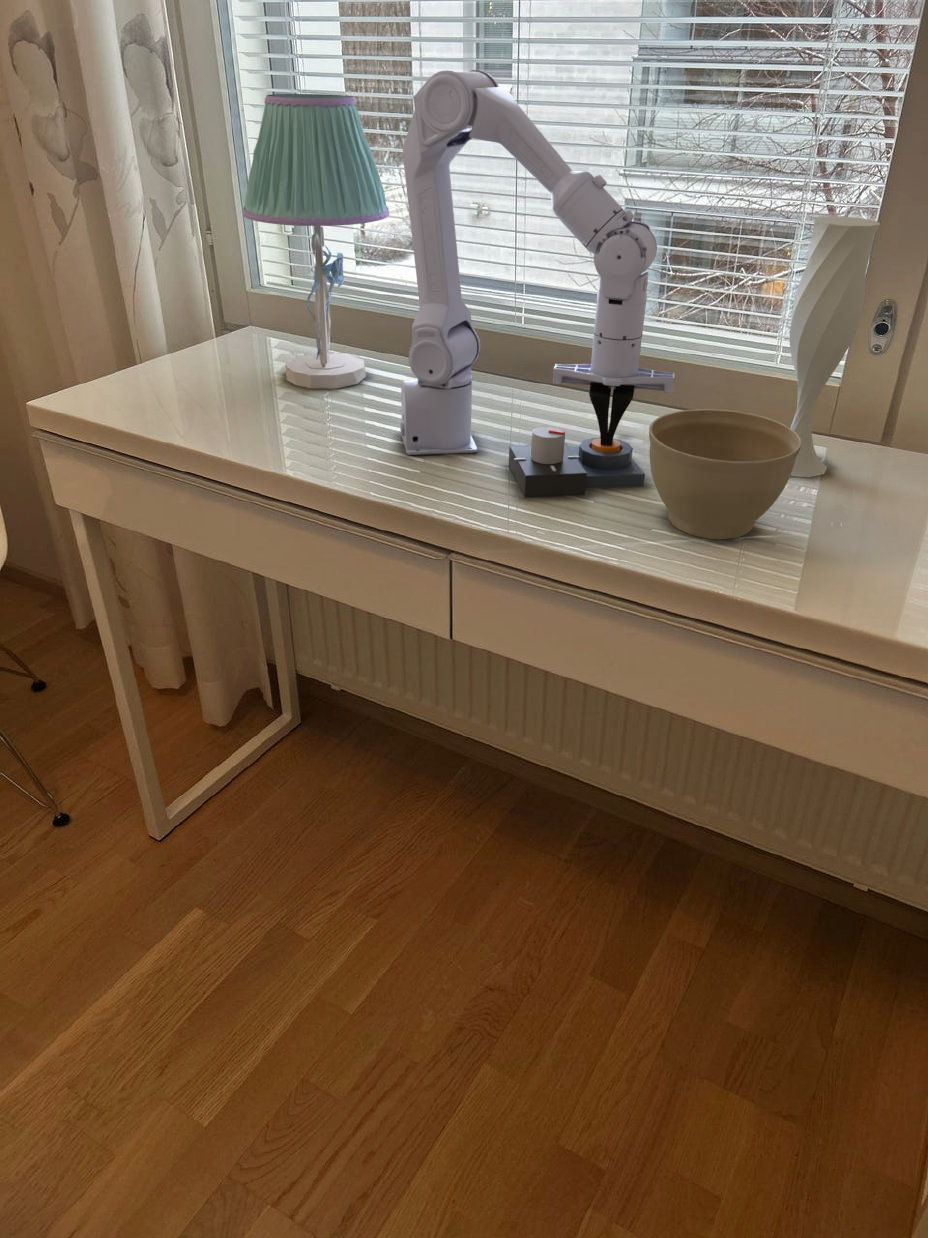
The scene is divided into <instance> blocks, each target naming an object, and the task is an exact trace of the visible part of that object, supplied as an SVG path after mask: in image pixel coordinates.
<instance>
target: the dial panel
mask: <svg viewBox="0 0 928 1238" xmlns="http://www.w3.org/2000/svg"><path fill="white" fill-rule="evenodd" d="M531 446H532V444H510V445H509V447H508V465H507V466H508V469H509V471H510V472H511V475H512V477H513V478H514V481H515V483H516V484H517V487H518V489H519V490H520V492H521V494H522V496H523V498H524V499H531V498H532V499H533V498H553V497H555V498H557V497H576V496H577V497H578V496H585V495H586V488H585V487H586V476H587V473H586V471H585V470H584V468H583V467H582V465H581V464H580V462H579V461H578V460H577V458H579V456H575V455H574V454H573V452H572V451H571V449H570V448H569V447H570V446H569V445H568V443H566V442H565V443H564V455H563V460H562V461H561V462H560V463H556V464H541V463H537V462H535V461H533V460H532V459H531Z"/></svg>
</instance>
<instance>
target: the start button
mask: <svg viewBox="0 0 928 1238" xmlns="http://www.w3.org/2000/svg"><path fill="white" fill-rule="evenodd" d="M597 438H598V439H595V440H593V441H592V448H591V449H593V450H595V451H597V452H603V453H615V452H619V451H620V446H621V443H620V442H619V441H617V440H615V439H616V438H613V441H612V446H605V445H601V438H600V437H597Z"/></svg>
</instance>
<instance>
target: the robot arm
mask: <svg viewBox="0 0 928 1238" xmlns="http://www.w3.org/2000/svg"><path fill="white" fill-rule="evenodd" d="M413 105H414V111H413V114H412V117H411V120H410V124H409V128H408V131H407V133H406V137H405V140H404V143H403V147H402V160H403V169H404V171H403V172H404V178H405V187H406V195H407V197H406V198H407V206H408V212H409V222H410V232H411V240H412V249H413V258H414V265H415V275H416V283H417V292H418V301H419V302H418V303H419V307H418V310H417V313H416V315H415V318H414V320H413V323H412V326H411V333H412V334H411V335H412V341H411V346H410V348H409V351H408V364H409V368H410V370H411V372H412V374H413V376H415V377H416V378H413V379H410V380H403V381H401V388H400V390H401V391H400V393H401V394H400V396H401V397H400V398H401V400H400V401H401V403H400V404H401V406H400V407H401V422H400V436H401V438H402V442H403V445H404V449H405V453H406V455H408V456H414V455H415V456H418V455H420V456H421V455H442V454H443V455H445V454H447V455H449V454H471V453H477V452H478V447H477V445H476V442H475V440H474V439H473V436H472V407H473V406H472V404H473V403H472V401H473V396H472V395H473V373H472V365H473V364H474V363H475V362H476V361H477V360H478V358H479V356H480V352H481V341H480V337H479V335H478V333H477V331H476V329H475V327H474V325H473V321H472V313H471V310H470V308H468V306H467V305H466V304H465V302H464V301H463V298H462V288H461V286H462V285H461V278H460V277H461V276H460V267H459V255H458V245H457V234H456V233H457V232H456V223H455V222H456V221H455V211H454V202H453V201H454V200H453V193H452V191H453V190H452V180H451V169H450V165H451V163H452V162H453V160H454V159H455V158H456V157H457V155H458V154H460V152H461V151H462V149H463V148H464V147H465V145H467V143H468V142H469V141H471V140H472V139H475V140H479V141H486V142H492V143H497V144H500V145H501V146H502V147H504V149H505V150H506V151H507V152H508V153H509V154H510V155H511V156H513V158H514V159H515V160H517V162H518V163H520V165H521V166H522V167H523V168H524V169H526V171H528V173H529V174H531V175H532V177H534V178H535V179H536V180H537V181H538V183H540V184H541V186H543V187H544V188H545V189H546V190H547V191H548V192H549V193H550V198H551V199H550V200H551V211H552V213H553V215H555V216H556V217H557V219H558V220H559V221H560V222H561V223H562V224H563V225H564V226H565V227H566V228H567V229H568V231H569V232H570V233H571V234H572V235H573V236H574V237H575V238H576V240H578V242H579V243H580V244H581V245H582V246H583V247H584V249H586V250H587V251H588V252H589V253H591V254H593V265H594V268H595V270H596V272H597V274H598V275H599V283H598V292H597V296H596V303H595V304H596V305H595V316H594V328H593V335H592V336H593V337H592V349H591V360H590V363H580V364H579V363H577V364H575V363H573V364H561V363H559V364H558V363H555V364H554V366H553V372H552V374H553V375H552V384H553V385H562V384H572V385H585V386H589V392H588V395H589V398H590V402H591V405H592V407H593V410H594V413H595V416H596V419H597V423H598V428H599V436H600V437H599V438H601V445H605V446H612V441H613V439H614V437H615V434H616V431H617V429H618V427H619V423H620V422H621V419H622V417H623V416H624V414H625V413H626V411H627V410H628V407H629V406H630V404H631V402H632V401H633V399H634V395H635V389H636V390H649V391H661V392H663V393H664V394H673V393H674V386H675V379H676V373H675V372H667V371H660V370H654V369H649V368H643V367H639V365H640V357H641V349H642V339H643V333H644V332H643V331H644V323H645V315H646V306H647V300H648V294H647V290H648V283H649V282H648V281H649V272H648V271H647V270H648V269H649V268H650V267H651V265H652V264H653V262H654V261H655V259H656V256H657V251H658V245H657V240H656V236H655V235H654V233H653V232H652V231H651V228H650V226H649V225H648V224H647V223H645V222H643V221H640V220H634V219H635V218H636V215H635V214H634V213H633V211H632V210H631V209H628V210H625V209H624V208H623V207H622V206H621V205H620V204H619V203H618V202H617V201H616V199H615V198H614V197H613V196H612V195H611V194H610V193H609V192H608V191H607V189H606V188H605V186H606V185H607V181H606V179H604V177H603V176H602V175H601V174H598V175H595V176H594V175H593V174H592V173H591V172H590V171H588V170H578V171H575V170H573V169H572V168H571V167H570V166H569V165H568V163H567V162H566V161H565V160H564V159H563V157H562V156H561V155H560V154H559V152H558V151H557V150H556V148H555V147H554V146H553V145H552V144H551V143H550V141H549V140H548V139H547V138H546V137H545V136H544V134H543V133H542V132H541V131H540V129H539V128H538V127H537V126H536V124H535V123H534V122H533V121H532V119H530V117H529V116H528V115H527V113H525V111H524V110H523V108H521V106H520V105H519V104H518V102H517V100H515V98H514V97H513V95H512V94H511V93H510V92H509V91H508V90H507V89H506V88H504V87H503V86H499V83H498V82H497V81H496V79H495V77H493V75H491V74H490V73H488V72H487V71H484V70H482V69H471V70H469V71H453V70H440V71H437V72H435V73H434V74H432V75H431V76H430V77H429V78H428V79H427V80H426V81H425V82H424V84H423V85H422V86H421V88H420V89H418V91H417V92H416V93H415V94H414V96H413ZM612 388H613V391H612ZM611 393H612V397H611ZM610 402H611V408H610ZM609 410H610V411H609ZM609 412H610V418H609Z"/></svg>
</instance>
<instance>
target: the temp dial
mask: <svg viewBox="0 0 928 1238" xmlns="http://www.w3.org/2000/svg"><path fill="white" fill-rule="evenodd" d="M565 440H566V430H564V429H562V428H559V427H556V426H538V427H536V428H534V429H532V432H531V445H532V446H531V459H532V460H533V461H535V462H537V463H541V464H556V463H560V462H561V461H562V460H563V455H564V443H566V441H565Z"/></svg>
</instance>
